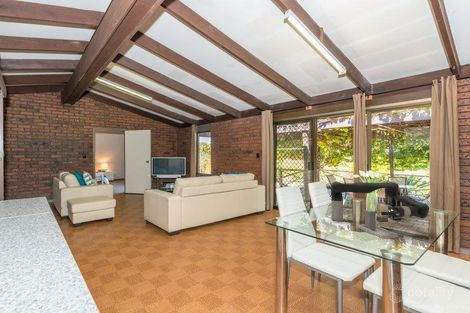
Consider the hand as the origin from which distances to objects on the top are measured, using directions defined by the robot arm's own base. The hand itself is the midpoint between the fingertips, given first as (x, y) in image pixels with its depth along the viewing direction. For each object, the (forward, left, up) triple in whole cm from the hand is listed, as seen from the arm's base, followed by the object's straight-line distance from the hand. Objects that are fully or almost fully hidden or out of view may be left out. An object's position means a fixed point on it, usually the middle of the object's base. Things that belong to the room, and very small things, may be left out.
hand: (378, 212), depth 173 cm
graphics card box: (+18, +59, -17) cm, 64 cm away
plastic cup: (+33, +77, -17) cm, 86 cm away
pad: (-9, -5, -17) cm, 20 cm away
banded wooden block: (+2, +1, -9) cm, 9 cm away
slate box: (-4, +13, -16) cm, 21 cm away
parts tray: (-1, +7, -17) cm, 18 cm away
